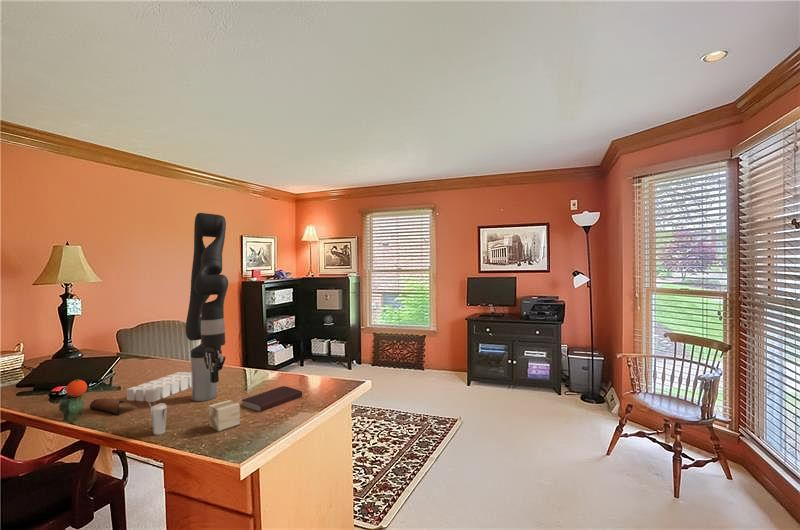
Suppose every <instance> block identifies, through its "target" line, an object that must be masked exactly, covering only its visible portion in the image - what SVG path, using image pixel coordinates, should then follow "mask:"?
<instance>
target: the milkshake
mask: <svg viewBox="0 0 800 530" xmlns="http://www.w3.org/2000/svg"><path fill="white" fill-rule="evenodd" d="M148 404H149V407H150V416H151V424H152V425H151V426H152V433H153V435H154V436H156V435H163V434H164V433H165V432H166V424H167V412H168V405H167V404H166V403H164V402H160V403H157V404H155V405H152V404H151V402H148Z"/></svg>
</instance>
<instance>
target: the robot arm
mask: <svg viewBox="0 0 800 530" xmlns="http://www.w3.org/2000/svg"><path fill="white" fill-rule="evenodd" d="M193 224H194V228H193V239H194V240H193V256H192V265H191V266H192V267H191V277H190V293H189V294H190V295H189V303H188V310H187V315H186V321H185V335H186V337H187V340H189V341H191V342H192V341H200V344H198V345H197V346H195V347H194V348H192V349H191V350H190V372H191V387H190V388H191V401H193V402H205V401H210V400H213V399H215V398H217V396H218V387H217V386H218V384H217V383H218V382H219V380H220V379H219V377H220V375H219V372H220V370H223V367H224V365H225V363H226V362H225V361H226V356H225V355H223V351H222V346H225V345H226V326H225V324H226V323H225V319H224V317H225V315H224V313H225V312H224V304H225V299H226V295H227V291H228V287H229V279H228V277H227V276H226V275H225V274H221V273H222V271H223V252H224V245H225V239H226V231H227V230H226V229H227V222H226V218H225V217H224V216H223V215H222V214H221V215H220V214H214V213H207V212H198V213H196V215H195V217H194V223H193ZM204 237H205V238H214V239H213V241H211V242H210V243H209V244H208V245H207V246H206V245H205V242H204ZM211 296H217V297H216V298H215V299H213V300H210V301H208V300H209V298H210V297H211Z"/></svg>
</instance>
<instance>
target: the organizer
mask: <svg viewBox="0 0 800 530" xmlns="http://www.w3.org/2000/svg"><path fill="white" fill-rule="evenodd" d="M189 388H191V371H190V372H189V371H178V372H175V373H172V374H168V375H166V376H162V377H159V378H157V379H154V380H153V379H152V380H151V381H148V382H147V383H146V382H143V383H140V384H139V385H137V386H131V387H129V388H126V400H127V401H136V402H144V401H145V402H146V403H147V402H149V403H154V402H156V401H159V400H161V399H164V398H166V397H169V396H170V395H174V394H176V393H177V394H178V393H180V392H182V391H185V390H188V389H189Z"/></svg>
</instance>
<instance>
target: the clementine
mask: <svg viewBox="0 0 800 530" xmlns="http://www.w3.org/2000/svg"><path fill="white" fill-rule="evenodd" d="M87 389H88V385H87V383H86V381H85V380H82V379H74V380H73V381H71V382H69V383H68V385H67V386H66V388H65V392H66V394H67V395H68V396H69V395H76V396H70V397H71V398H72V397H74V398H77V397H80V396H82V395H83V394H82V393H84V392H86V391H87ZM78 394H81V395H78ZM84 394H85V393H84Z"/></svg>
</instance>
